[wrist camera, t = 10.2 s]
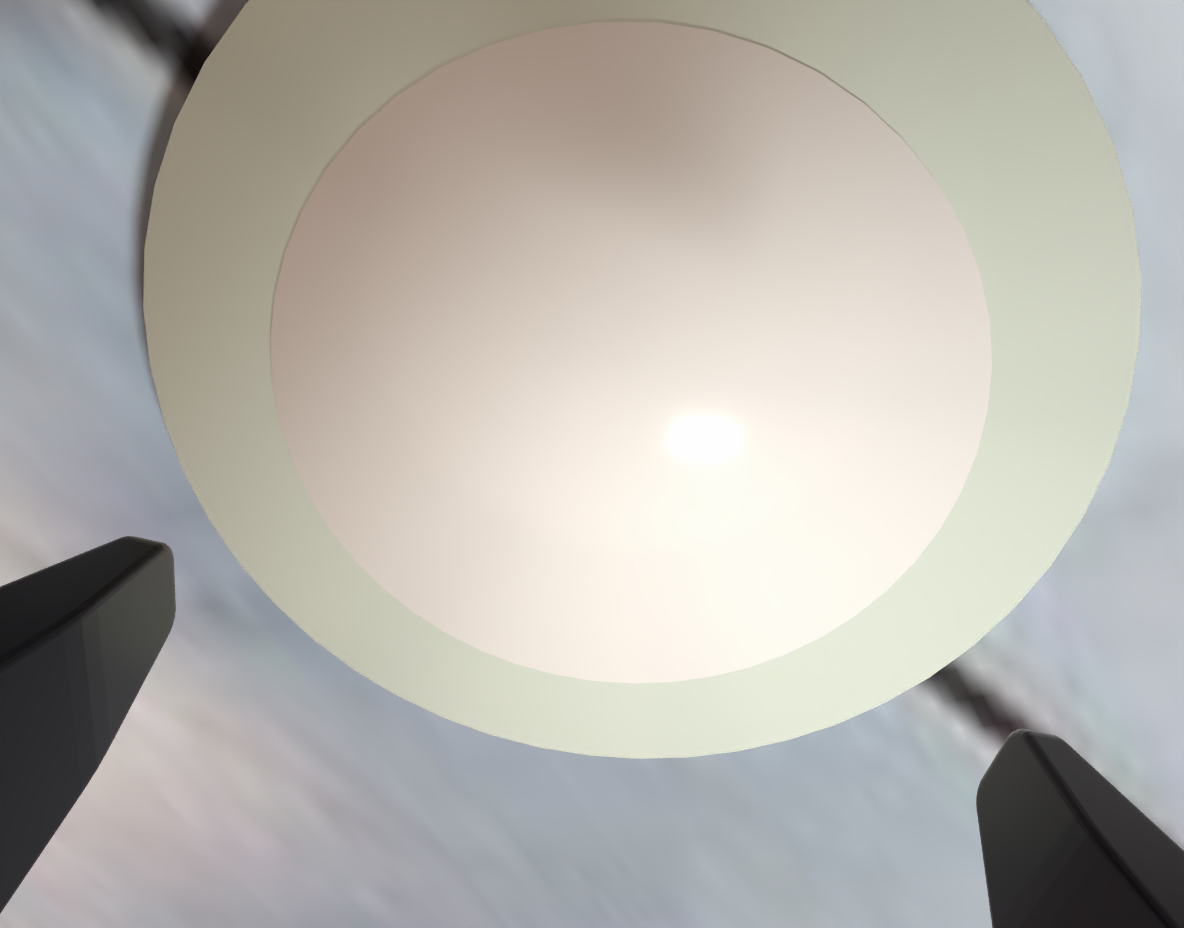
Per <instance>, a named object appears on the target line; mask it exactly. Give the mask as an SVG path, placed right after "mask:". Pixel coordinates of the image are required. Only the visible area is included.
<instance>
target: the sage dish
mask: <svg viewBox="0 0 1184 928" xmlns="http://www.w3.org/2000/svg"><path fill="white" fill-rule="evenodd" d="M1140 307H1141V272H1140V264H1139V256H1138V248H1137V240H1136V232H1135V223H1134V215H1133V209H1132V206H1131V202H1130V199H1129V196H1128V192H1127V189H1126V185H1125V182H1124V178H1123V175H1122V171H1121V168H1120V164H1119V161H1118V157H1117V154H1116V151H1115V147H1114V144H1113V141H1112V139H1111V137H1110V135H1109V133H1108V131H1107V128H1106V126H1105V124H1104V122H1103V120H1102V118H1101V116H1100V114H1099V112H1098V109H1097V107H1096V105H1095V103H1094V101H1093V99H1092V97H1091V95H1090V92H1089V90H1088V88H1087V86H1086V84H1085V82H1084V80H1083V78H1082V76H1081V74H1080V73H1079V71H1078V70H1077V68H1076V67H1075V66H1074V64H1073V63H1072V61H1071V60H1070V58H1069V57H1068V55H1067V54H1066V52H1065V51H1064V50H1063V48H1062V47H1061V45H1060V44H1059V42H1058V41H1057V39H1056V38H1055V37H1054V35H1053V34H1052V32H1051V31H1050V29H1049V28H1048V26H1047V25H1046V23H1045V22H1044V21H1043V19H1042V18H1041V16H1040V15H1039V13H1038V12H1037V11H1036V10H1035V9H1034V8H1033V7H1032V6H1031V5H1030V4H1029V3H1028V2H1027V1H1026V0H249V1H248V2H247V3H246V4H245V6H244V7H243V8H242V10H241V11H240V13H239V14H238V15H237V17H236V18H235V20H234V21H233V23H232V24H231V25H230V27H229V28H228V30H227V31H226V33H225V34H224V35H223V37H222V38H221V40H220V41H219V42H218V44H217V45H216V47H215V48H214V50H213V51H212V52H211V54H210V55H209V57H208V58H207V60H206V61H205V62H204V64H203V66H202V68H201V70H200V72H199V74H198V77H197V79H196V81H195V83H194V85H193V87H192V89H191V91H190V93H189V95H188V97H187V99H186V101H185V103H184V105H183V107H182V109H181V111H180V113H179V115H178V117H177V119H176V121H175V123H174V126H173V129H172V132H171V135H170V139H169V142H168V145H167V148H166V151H165V154H164V157H163V161H162V164H161V167H160V170H159V173H158V176H157V179H156V183H155V186H154V192H153V198H152V204H151V210H150V217H149V223H148V229H147V235H146V241H145V247H144V298H143V310H144V319H145V327H146V335H147V344H148V352H149V361H150V368H151V372H152V376H153V380H154V384H155V387H156V391H157V395H158V399H159V403H160V407H161V411H162V415H163V419H164V423H165V425H166V428H167V430H168V433H169V435H170V438H171V440H172V443H173V445H174V448H175V450H176V453H177V456H178V458H179V461H180V463H181V466H182V468H183V471H184V473H185V475H186V477H187V479H188V481H189V483H190V485H191V486H192V488H193V490H194V492H195V494H196V496H197V498H198V499H199V501H200V503H201V505H202V507H203V509H204V510H205V512H206V514H207V516H208V518H209V520H210V522H211V523H212V524H213V526H214V527H215V529H216V530H217V532H218V533H219V534H220V536H221V537H222V539H223V540H224V542H225V543H226V544H227V546H228V547H229V549H230V550H231V552H232V553H233V554H234V556H235V557H236V559H237V560H238V562H239V563H240V564H241V566H242V567H243V568H244V569H245V570H246V571H247V573H248V574H249V575H250V576H251V577H252V578H253V579H254V581H255V582H256V583H257V584H258V585H259V586H260V587H261V588H262V590H263V591H264V592H265V593H266V594H267V595H268V596H269V598H270V599H271V600H272V601H273V602H274V603H275V604H276V605H277V606H278V607H279V608H280V609H281V610H282V611H283V612H284V613H285V614H286V615H288V616H289V617H290V618H291V619H292V620H293V621H294V622H295V623H296V624H297V625H298V626H299V627H301V628H302V629H303V630H304V631H305V632H306V633H307V634H308V635H309V636H310V637H311V638H313V639H314V640H315V641H316V642H318V643H319V644H320V645H322V646H323V647H324V648H326V649H327V650H328V651H330V652H331V653H332V654H334V655H335V656H336V657H338V658H339V659H340V660H342V661H343V662H344V663H346V664H347V665H348V666H350V667H351V668H352V669H354V670H355V671H357V672H359V673H360V674H362V675H364V676H365V677H367V678H369V679H370V680H372V681H374V682H375V683H377V684H379V685H380V686H382V687H384V688H385V689H387V690H389V691H390V692H392V693H394V694H395V695H397V696H399V697H401V698H403V699H405V700H407V701H409V702H411V703H414V704H416V705H418V706H420V707H422V708H424V709H426V710H428V711H430V712H432V713H435V714H437V715H439V716H441V717H443V718H446V719H449V720H451V721H454V722H457V723H459V724H462V725H465V726H468V727H470V728H473V729H476V730H479V731H481V732H484V733H487V734H490V735H494V736H497V737H501V738H505V739H509V740H513V741H516V742H520V743H524V744H528V745H532V746H536V747H541V748H547V749H553V750H559V751H565V752H571V753H577V754H583V755H593V756H607V757H621V758H636V759H638V758H681V757H694V756H702V755H711V754H719V753H728V752H736V751H741V750H745V749H750V748H755V747H759V746H764V745H768V744H773V743H778V742H782V741H787V740H790V739H793V738H796V737H799V736H802V735H805V734H808V733H811V732H815V731H818V730H821V729H824V728H827V727H830V726H833V725H836V724H838V723H841V722H843V721H845V720H847V719H850V718H852V717H854V716H856V715H859V714H861V713H863V712H866V711H868V710H870V709H872V708H875V707H877V706H879V705H882V704H884V703H885V702H887V701H889V700H891V699H892V698H894V697H896V696H898V695H899V694H901V693H903V692H905V691H906V690H908V689H910V688H912V687H914V686H915V685H917V684H919V683H921V682H922V681H924V680H926V679H928V678H929V677H931V676H932V675H933V674H935V673H936V672H938V671H939V670H940V669H942V668H943V667H944V666H946V665H947V664H949V663H950V662H951V661H953V660H954V659H956V658H957V657H958V656H960V655H961V654H962V653H964V652H965V651H967V650H968V649H969V648H971V647H972V646H973V645H974V644H976V643H977V642H978V641H979V640H980V639H981V638H982V637H983V636H984V635H985V634H987V633H988V632H989V631H990V630H991V629H992V628H993V627H994V626H995V625H996V624H997V623H999V622H1000V621H1001V620H1002V619H1003V618H1004V617H1005V616H1006V615H1007V614H1008V613H1010V612H1011V611H1012V610H1013V609H1014V608H1015V607H1016V605H1017V604H1018V603H1019V602H1020V601H1021V600H1022V598H1023V597H1024V596H1025V595H1026V594H1027V593H1028V592H1029V590H1030V589H1031V588H1032V587H1033V586H1034V585H1035V583H1036V582H1037V581H1038V580H1039V579H1040V578H1041V577H1042V575H1043V574H1044V573H1045V572H1046V571H1047V570H1048V568H1049V567H1050V566H1051V565H1052V563H1053V562H1054V560H1055V559H1056V557H1057V556H1058V554H1059V553H1060V551H1061V550H1062V548H1063V547H1064V545H1065V544H1066V542H1067V541H1068V539H1069V538H1070V536H1071V535H1072V533H1073V532H1074V530H1075V529H1076V527H1077V526H1078V524H1079V523H1080V521H1081V520H1082V518H1083V516H1084V514H1085V512H1086V510H1087V508H1088V506H1089V504H1090V502H1091V500H1092V498H1093V496H1094V494H1095V492H1096V490H1097V488H1098V486H1099V484H1100V482H1101V480H1102V478H1103V475H1104V473H1105V471H1106V469H1107V467H1108V465H1109V463H1110V460H1111V457H1112V454H1113V451H1114V448H1115V445H1116V442H1117V439H1118V436H1119V433H1120V430H1121V427H1122V424H1123V421H1124V418H1125V415H1126V412H1127V409H1128V405H1129V399H1130V394H1131V388H1132V382H1133V377H1134V371H1135V366H1136V360H1137V355H1138V349H1139V340H1140Z"/></svg>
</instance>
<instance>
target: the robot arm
mask: <svg viewBox="0 0 1184 928" xmlns="http://www.w3.org/2000/svg"><path fill="white" fill-rule="evenodd" d="M175 612H176V602H175V578H174V558H173V553H172V550H171V548H170V547H169V546H168V545H166V544H165V543H162V542H157V541H152V540H148V539H143V538H139V537H132V536H126V537H122V538H119V539H116V540H114V541H112V542H109V543H107V544H104V545H102V546H99V547H97V548H94V549H92V550H89V551H87V552H84V553H82V554H80V555H77V556H75V557H72V558H70V559H67V560H65V561H62V562H60V563H57V564H55V565H52V566H50V567H48V568H45V569H43V570H40V571H38V572H35V573H33V574H30V575H28V576H25V577H23V578H20V579H18V580H16V581H13V582H11V583H8V584H6V585H3V586H1V587H0V913H1V912H2V910H3V909H4V907H5V906H6V904H7V903H8V902H9V900H10V899H11V897H12V896H13V894H14V893H15V891H16V890H17V888H18V887H19V885H20V884H21V882H22V881H23V879H24V878H25V876H26V875H27V873H28V872H29V870H30V869H31V867H32V866H33V865H34V863H35V862H36V860H37V859H38V857H39V856H40V854H41V853H42V851H43V850H44V848H45V847H46V845H47V844H48V842H49V841H50V839H51V838H52V836H53V835H54V833H55V832H56V830H57V829H58V828H59V826H60V825H61V823H62V822H63V820H64V819H65V817H66V816H67V814H68V813H69V811H70V810H71V808H72V807H73V805H74V804H75V802H76V801H77V799H78V798H79V796H80V795H81V793H82V792H83V790H84V789H85V787H86V786H87V784H88V783H89V781H90V780H91V778H92V776H93V775H94V773H95V772H96V770H97V769H98V767H99V765H100V763H101V761H102V760H103V758H104V756H105V754H106V753H107V751H108V749H109V747H110V745H111V743H112V742H113V740H114V738H115V736H116V734H117V732H118V730H119V728H120V726H121V724H122V723H123V721H124V719H125V717H126V715H127V713H128V711H129V709H130V707H131V705H132V704H133V702H134V700H135V698H136V696H137V694H138V692H139V690H140V688H141V686H142V685H143V683H144V681H145V679H146V677H147V675H148V673H149V671H150V669H151V667H152V666H153V664H154V662H155V660H156V658H157V656H158V654H159V652H160V650H161V648H162V647H163V645H164V643H165V641H166V639H167V637H168V635H169V633H170V631H171V628H172V625H173V622H174V618H175ZM976 805H977V815H978V822H979V830H980V837H981V845H982V852H983V860H984V867H985V875H986V882H987V890H988V897H989V905H990V912H991V920H992V927H993V928H1184V851H1183V850H1182V849H1181V848H1180V847H1179V846H1178V845H1177V844H1176V843H1175V842H1174V841H1172V840H1171V839H1170V838H1169V837H1168V836H1167V835H1166V834H1165V833H1164V832H1163V831H1162V830H1160V829H1159V828H1158V827H1157V826H1156V825H1155V824H1154V823H1153V822H1152V821H1151V820H1150V819H1149V818H1147V817H1146V816H1145V815H1144V814H1143V813H1142V812H1141V811H1140V810H1139V809H1138V808H1137V807H1136V806H1134V805H1133V804H1132V803H1131V802H1130V801H1129V800H1128V799H1127V798H1126V797H1125V796H1124V795H1123V794H1121V793H1120V792H1119V791H1118V790H1117V789H1116V788H1115V787H1114V786H1113V785H1112V784H1111V783H1110V782H1108V781H1107V780H1106V779H1105V778H1104V777H1103V776H1102V775H1101V774H1100V773H1099V772H1098V771H1096V770H1095V769H1094V768H1093V767H1092V766H1091V765H1090V764H1089V763H1088V762H1087V761H1086V760H1085V759H1083V758H1082V757H1081V756H1080V755H1079V754H1078V753H1077V752H1076V751H1075V750H1074V749H1073V748H1072V747H1070V746H1069V745H1068V744H1067V743H1066V742H1065V741H1064V740H1062V739H1061V738H1059V737H1057V736H1054V735H1050V734H1046V733H1041V732H1036V731H1032V730H1027V729H1018V730H1016V731H1014V732H1012V733H1011V734H1010V735H1009V736H1008V738H1007V739H1006V741H1005V742H1004V744H1003V746H1002V747H1001V749H1000V750H999V752H998V754H997V755H996V757H995V759H994V760H993V762H992V763H991V765H990V767H989V768H988V770H987V771H986V773H985V775H984V776H983V778H982V780H981V782H980V784H979V787H978V791H977V799H976Z"/></svg>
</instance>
